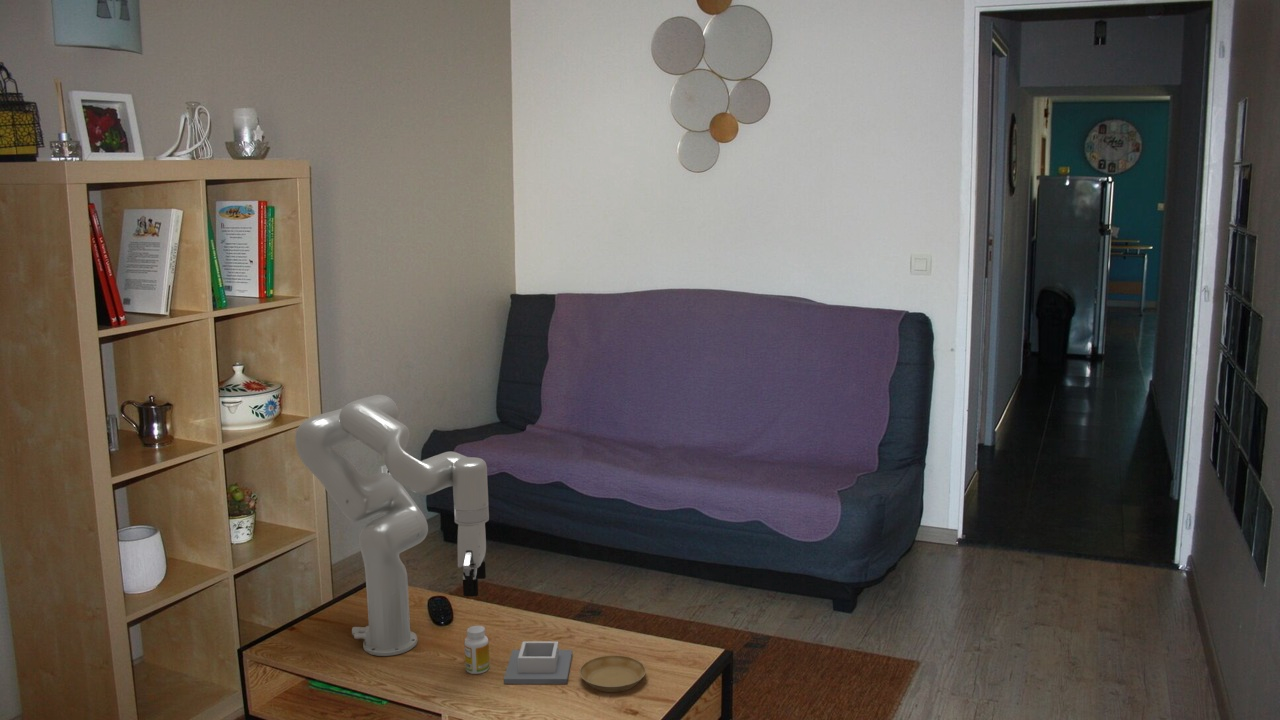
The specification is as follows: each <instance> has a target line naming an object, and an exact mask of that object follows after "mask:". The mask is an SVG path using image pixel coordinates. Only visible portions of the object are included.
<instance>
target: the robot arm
mask: <svg viewBox="0 0 1280 720" xmlns="http://www.w3.org/2000/svg"><path fill="white" fill-rule="evenodd" d="M399 415H400V412H399V407H398V405H397V404H396V402H395V401H394V400H393V399H392V398H391V397H389V396H387V395H385V394H374V395H371V396H366V397H362V398H359V399H356V400H353V401H351V402H349V403H347V404H345V406H344V407H342V408H339V409H338V408H337V409H335V410H332V411H327V412H324V413H320V414H317V415H313V416H312V417H310V418H309V417H308V418H307V419H306V420H304V421H303V422H302V423H300V425H299V426H298V427H297V429H296V431H295V434H294V435H295V436H294V443H295V449H296V452H297V455H298V457H299V459H300V460H301V463H303V465H304V466H305V467H306V468H307V469H308V470H309V472H310V473H312V475H314V477H315V478H316V479H317V480H318V481H319V482H320V483H321V484H322V485H323V487H324V489H325V490H326V492H327V494H328V495H329V496H330V497H331V499H332V500H333V501H334V503H335V504H336V506H337V507H338V508H339V510H340V511H341V513H342V514H343V515H344V516H345V518H346V519H348V520H349V521H351V522H353V523H361V522H363V521H367V520H369V519H372V518H374V517H376V516H379V515H381V514H383V516H380V517H378V518H376V519H373V520H372V521H369V523H367V524H366V525H365V526H364V527H362V529H361V531H360V533H359V535H358V544H359V549H360V552H361V556H362V557H361V558H362V561H363V565H364V573H365V587H366V601H367V615H368V616H367V619H368V625H365V627H362V626H352V629H351V635H352V636H353V637H354V639H355V640H359V639H360V640H361V639H363V642H362V643H363V645H362V646H363V647H362V648H363V650H364V652H366V653H367V654H370V655H373V656H378V657H390V656H391V657H392V656H397V655H401V654H404V653H406V652H409V651H410V650H412V649H414V647H416V646H417V644H418V636H417V633H415V632H414V631H411V623H410V622H411V619H410V601H409V600H410V599H409V583H408V573H407V572H408V571H407V569H406V566H405V565H404V564H405V563H403V561H402V559H401V558H400V554H401V553H403V552H405V551H407V550H409V549H411V548H413V547H416V546H417V545H419V544H421V543H422V542H423V541H424V540H425V539H426V537H427V536H428V532H429V525H428V522H427V518H426V516H425V515H424V513H423V512H422V510H421V509H420V508H419V506H418V505H417V503H416V502H415V500H414V499H413V498H412V497H411V495H410V494H409V493H408V491H407V490H406V489H408V490H409V491H411V492H413V493H415V494H418V495H422V496H429V495H432V494H435V493H437V492H439V491H441V490H443V489H446V488H450V487H452V492H453V493H452V495H453V496H452V497H453V510H454V511H453V513H454V515H453V516H454V523H455V524H456V525H457V567H458V568H459V569H462V568H463V570H462V571H463V572H462V591H463V596H464V597H478V596H479V580H485V579H486V578H487V577H486V575H487V574H486V572H487V571H486V570H487V569H486V561H485V560H486V559H485V558H486V552H487V538H486V537H487V536H486V534H487V533H486V523H487V522H489V520H490V512H489V488H488V482H489V481H488V466H487V463H486V461H485V460H484V459H483V458H480V457H473V456H472V457H471V456H470V457H469V456H466V455H464V454H461V453H459V452H456V451H445V452H442V453H439V454H436V455H434V456H431V457H428V458H424V459H423V460H419V459H417V458H415V457H414V456H412V455H411V454H409V453H408V452H406V450H405V449H406V448H407V445H408V443H409V440H410V436H411V435H410V430H409V427H408V426H407V425H405V424H404V423H402V422H401V421H399V420H398V419H399ZM356 441H359V442H360V443H362V444H364V445H365V446H367V447H369V448H370V449H372V450H373V451H375V452H376V453H378V454H379V455H381V456H383V461H384V464H385V467H386V469H387V471H388V473H387V472H378V473H377V472H376V473H373V474H371V475H369V476H364V475H362V473H361V472H360V471H359V470H358V468H357V467H356V466H355V464H354V463H353V462H352V460H350V459H349V458H348V457H346V456H344V455H343V454H341V453H339V452H336V451H335V450H334V448H336V447H340V446H343V445H346V444H349V443H352V442H356Z"/></svg>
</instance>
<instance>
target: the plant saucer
mask: <svg viewBox="0 0 1280 720" xmlns="http://www.w3.org/2000/svg"><path fill="white" fill-rule="evenodd" d="M646 668H647V667H646V666H645V664H644V663H643V662H642V661H640V660H638V659H636V658H634V657H630V656H627V655H618V654H617V655H616V654H614V655H612V654H611V655H602V656H597V657H594V658H592V659H588V660H587V661H586V662H584V663H583V664H582V665H581V666H580V668H579V671H578V672H579V675H580V678H582V680H583V681H584V682H585V683H586V684H587V685H588V686H590V687H591V688H593V689H595V690H597V691H601V692H604V693H619V692H620V691H621V692H624V691H628V690H630V689H631V688H633V687H635V686H636V685H637V684H638V683H640V681H642V679H643V678H644V677H645V675H646V673H647V669H646Z"/></svg>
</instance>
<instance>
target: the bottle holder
mask: <svg viewBox="0 0 1280 720" xmlns="http://www.w3.org/2000/svg"><path fill="white" fill-rule="evenodd" d="M572 658H573V649H560V648H559V641H550V640H549V641H544V640H543V641H541V640H540V641H536V640H535V641H534V640H533V641H532V640H531V641H528V640H527V641H526V640H525V641H522V643H521V645H520V649H512V650H511V653H510V656H509V660H508V663H507V667H506V670H505V673H504V677H503V685H568V681H569V675H570V670H571V664H572Z"/></svg>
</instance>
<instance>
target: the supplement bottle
mask: <svg viewBox="0 0 1280 720" xmlns="http://www.w3.org/2000/svg"><path fill="white" fill-rule="evenodd" d="M466 635H467V636H466V637H465V639H464V662H465V671H466V672H467V673H469V674H472V675H478V674H479V675H480V674H484V673H486V672H487V671H488V670H489V669H490V646H489V638H488V636H486V628H485V626H483V625H472V626H469V627H468V628H467V630H466Z"/></svg>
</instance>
